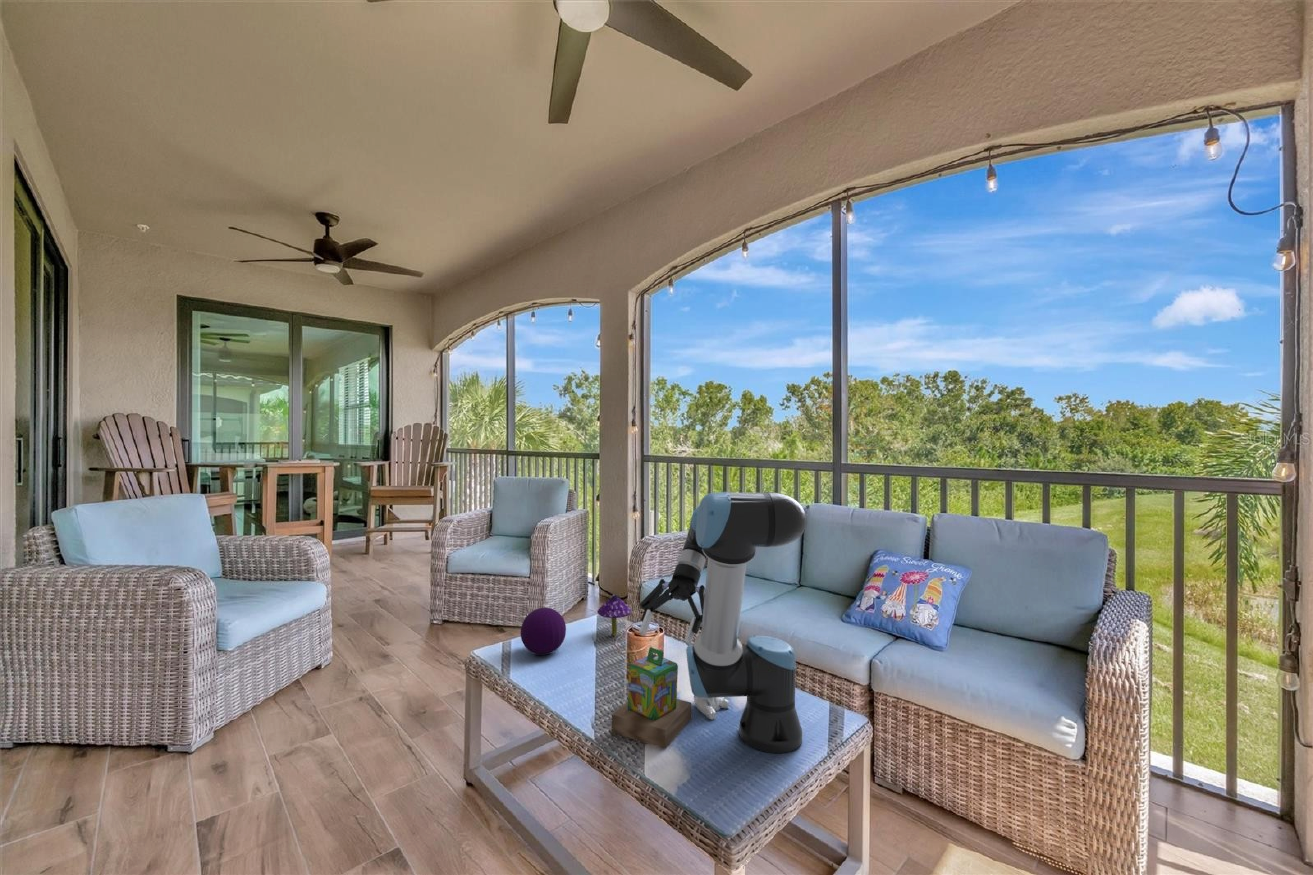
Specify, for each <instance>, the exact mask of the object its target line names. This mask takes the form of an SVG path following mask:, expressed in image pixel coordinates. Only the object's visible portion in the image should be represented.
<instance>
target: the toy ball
mask: <svg viewBox="0 0 1313 875" xmlns="http://www.w3.org/2000/svg"><path fill="white" fill-rule="evenodd" d="M566 633H567V625H566V621H565V619H564V617H563V616H562V615H561V613H560V612H558V611H557V610H555V609H554V608H550V607H538V608H536V609H534V610H532V611H530V613H528V614H527V615H526V616H525V617H524V620H523V621H522V624H521V628H520V639H521V642H522V644H523V645H524V647H525V649H526V650H528V651H529V652H531V653H532V654H534V655H540V656H546V655H549V654H551V653H553V652H555V651H557V650H558V649H559V648H560V647H561V646H562V644H563V643H564V640H565V638H566Z"/></svg>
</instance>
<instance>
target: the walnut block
mask: <svg viewBox="0 0 1313 875" xmlns="http://www.w3.org/2000/svg"><path fill="white" fill-rule="evenodd" d="M692 703H693V702H690V701H688V700H683V699H679V698H677V703H676V708H675V709H673V710H671V711H670V712H668V713H666V714H664V715H663V716H661V717H659V718H657V719H656V720H654V721H653V720H651V719H649V718H647V717H645V716H643V715H641V714H639V713H637V712H635V711H633V710H631V709H629V708H628V700H627V701H626V702H624V704H622V705H621V706H619V708H617V709H616V710H614V712H612V714H611V733H614V734H615V735H620V736H623V737H626V738H629V739H632V740H635V741H638V742H642V743H646V744H647V745H648V744H649V745H651V746H654V747H655V746H656V747H657V748H661V749H664V750H666V749H667V748H668V747H669V746H670V745H671V743H673V741H674V740H675V739H676V738H677V737H678V735H679V734H680V733H681V732H682V731H683V730H684V729H685V727H686V726H687V725H688V724H689V723H690V722H691V721H692V716H693V715H692V714H693V713H692V712H693V711H692V709H693V706H692Z"/></svg>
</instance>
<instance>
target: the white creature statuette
mask: <svg viewBox="0 0 1313 875" xmlns="http://www.w3.org/2000/svg"><path fill="white" fill-rule="evenodd" d="M693 703H694V706H695V707H696V708H697V710H698V711H699V712H701V713H702V714H703V715H704V716H706V717H707V719H709V720H715V719H716V718H717V712H718V711H719V710H720V709H729V707H730V700H728V699H726V697H716V698H705V697H696V696H695V695H694V694H693Z"/></svg>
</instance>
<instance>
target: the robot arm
mask: <svg viewBox="0 0 1313 875" xmlns="http://www.w3.org/2000/svg"><path fill="white" fill-rule="evenodd" d="M806 526H807V516H806V512H805V509H804V508H803V506H802V505H801V504H800V503H799V502H798V501H797V500H796V499H794V498H793V497H790V496H789V495H786V494H783V493H778V492H772V491H771V492H770V491H769V492H728V491H721V492H710V493H707V494H705V495H704V497H703V498H702V499H701V501H700V503H699V505H698V506H697V507H696V508H695V509H694V510H693V512H692V515H691V518H690V523H689V528H688V532H687V536H686V539H685V542H684V545H683V547H682V550H681V552H680V555H679V558H678V560H677V562H676V565H675V568H674V570H673V574H672V578H671V580H670V581H666V580H665V579H664V578H661V579H660V580H659V582H658V584H657V585H656V586H655V587H654V588H653V589H652V591H651V592H649V593H648V594H647V596H646V597H644V599H643V600H642V601H641V602H640V603H639V604H640V607H641V608H642V610H643V614H642V616H641V619H640V620H641V622H642V623H641V625H640V628H639V630H638V632H639V634H640V635H641V636H642V637H646V634H647V631H648V630H649V626H650V624H651V621H652V619H653V617H654V613H653V612H654V611H656V610H657V609H659V608H660V607H661V606H663V605H664V604H666V603H667V602H669V601H672V600H673V599H674V600H676V601H677V600H680V601H682V602H683V601H684V602H685V601H686V600H687V601H688V604H689V606H690V608H691V610H692V613H693V615H694V617H692V618H691V620H690V624H689V626H688V629H687V632H686V635H685V639H684V642H685V644H686V651H685V652H686V662H687V671H688V677H689V684H690V690H691V692H692V694H693V696H694V695H695V696H696V697H705V698H716V697H724V698H733V697H734V698H735V697H737V698H738V697H746V704H745V706H744V708H743V711H742V715H741V717H740V720H739V725H738V726H739V730H738V732H739V736H740V739H741V740H742V741H743V742H744V743H745V744H746V745H748V746H749V747H751V748H752V749H755V750H757V751H761V752H764V753H770V754H784V753H789V752H792V751H795V750H797V749H798V748H799V747H800V746H801V744H802V742H803V730H802V729H803V728H802V726H801V722H800V718H799V716H798V712H797V709H796V669H797V663H796V652H795V650H794V648H793V647H792V646H791V645H790V644H789V643H787V642H786V641H784V640H781V639H779V638H776V637H773V636H768V635H759V634H758V635H752V636H750V637H748V638H747V640H746V644H742V642H741V641H740V639H739V638H738V637H739V630H740V621H741V613H742V612H741V611H742V604H743V599H744V598H743V596H744V589H745V581H746V572H747V564H749V562H750V563H751V562H752V560H753V559H754V558H755V556H756V551H757V550H756V549H757V548H773V547H774V548H775V547H780V546H785V545H789V544H791V543H792V542H793V543H794V542H796V540H798V539H799V538H801V536H802V535H803V534H804V532H805V530H806ZM706 562H707V567H706V578H705V585H703V584H701V585H699V586H698V584H699V583H700V582H699V581H700V578H701V577H702V576H701V574H702V573H703V571H704V570H703V569H704V568H705V567H704V566H705V564H706ZM696 593H697V594H698V596H699V597H698V598H699V604H700V610H701V614H700V613H699V610H698V607H697V605H696V602H695V601H694V598H693V597H692V596H693V595H695V594H696ZM700 627H701V632H700V633H699V631H700ZM695 635H697V636H696V637H695V639H693V638H694V636H695ZM693 640H694V643H693ZM692 643H693V644H692Z"/></svg>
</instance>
